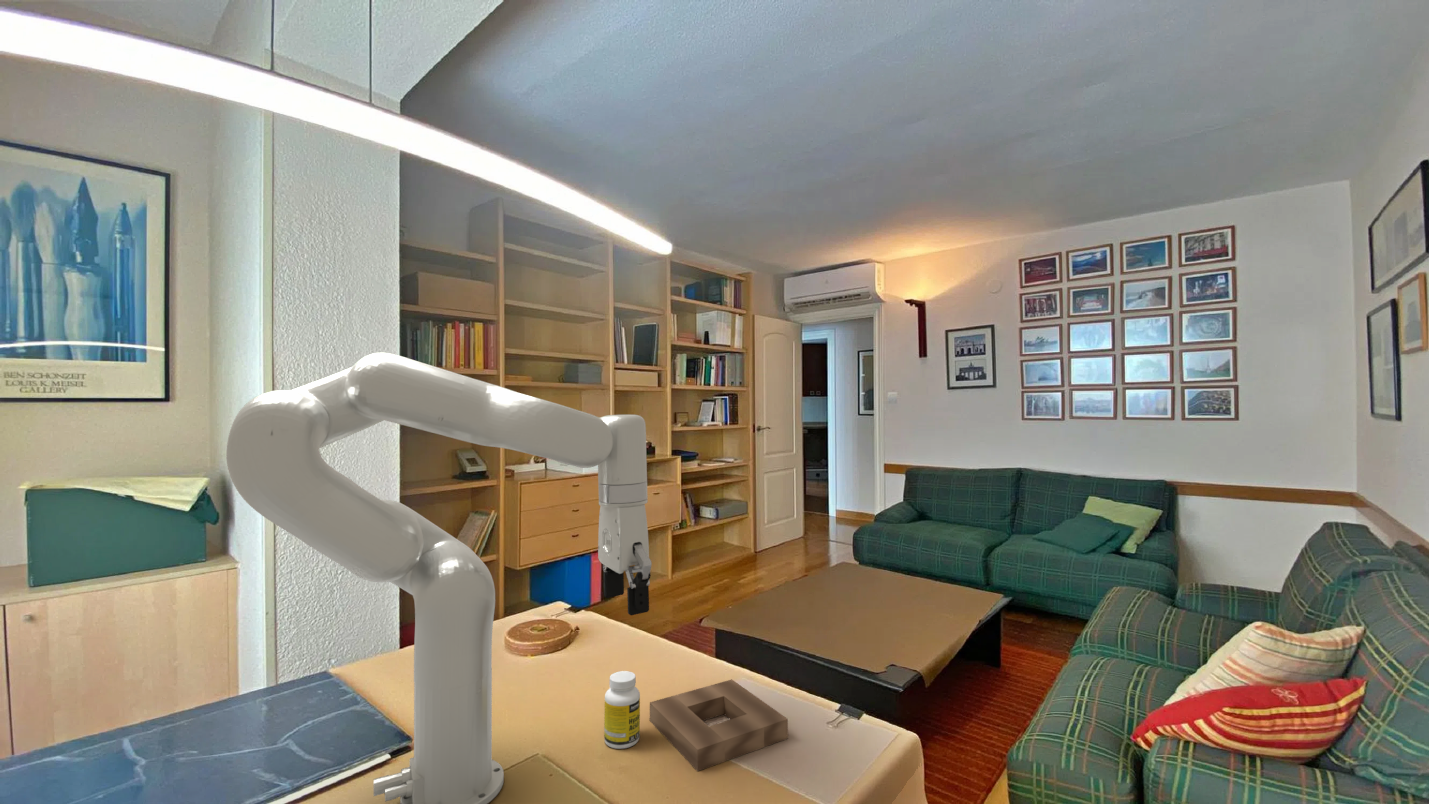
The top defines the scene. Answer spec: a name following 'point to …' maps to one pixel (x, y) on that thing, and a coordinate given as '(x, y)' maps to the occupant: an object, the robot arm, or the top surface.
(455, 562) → the robot arm
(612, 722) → the supplement bottle
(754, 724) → the socket block
